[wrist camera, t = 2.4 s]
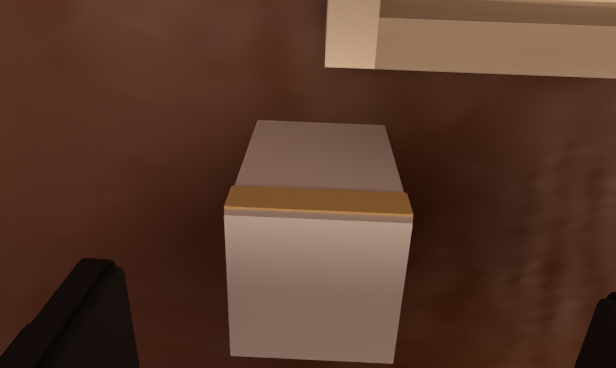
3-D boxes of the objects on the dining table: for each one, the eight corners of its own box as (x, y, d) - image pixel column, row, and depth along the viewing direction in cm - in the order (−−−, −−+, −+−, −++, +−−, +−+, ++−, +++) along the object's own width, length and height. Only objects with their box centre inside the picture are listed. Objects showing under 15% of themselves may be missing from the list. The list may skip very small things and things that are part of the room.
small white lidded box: (374, 235, 18) (395, 365, 13) (257, 229, 18) (228, 357, 13) (386, 123, 16) (415, 221, 11) (255, 118, 16) (221, 213, 11)
